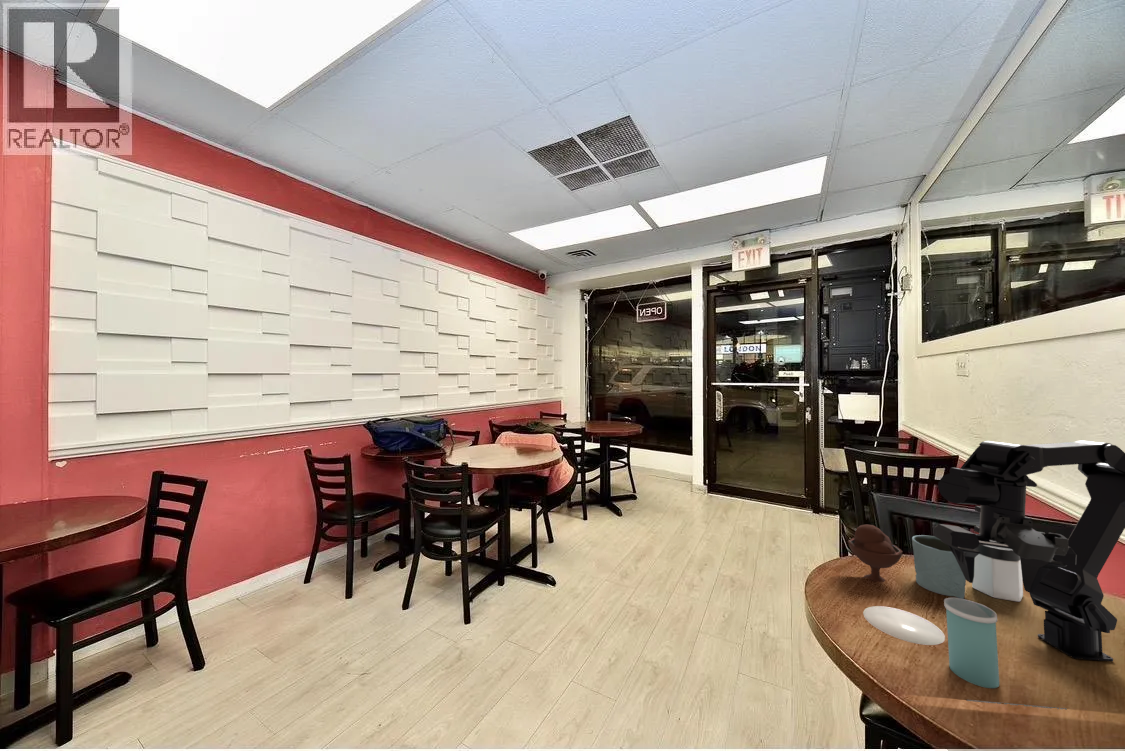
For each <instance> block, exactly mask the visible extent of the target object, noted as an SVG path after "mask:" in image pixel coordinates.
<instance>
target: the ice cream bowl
mask: <svg viewBox="0 0 1125 751" xmlns="http://www.w3.org/2000/svg"><path fill="white" fill-rule="evenodd" d="M847 542H848V546H849V548H850V550H851V552H852V553H853V554H854V555H855V556H856V557H857V558H858V559H859V560H860V561H861V562H862V563H863V564H865V565H867V566H869V567H870V569H871V570H870V573H871V574H870V573H869V574H868V573H867V574H865V575H864V576H862V578H865V579H869V580H871V581H873V582H876V583H877V582H878V583H885V582H886V579H885V578H884V577H883V576H881V573H880V570H881V569H887V568H891V567H892V566H895V565H896V564H897V563H898V562H899V561H900V560H901V558H902V556H903V550H902V549H901V548H899V547H898V546H897V545H895V544H893V543H892V541H891V539H890V537H889V535H887V534H886V533H884V532H883V531H882V530H881V529H880V528H879V527H877V526H875V525H874V524H861V525H859V526H857V527H856V529H855V531H854V536H853V537H851V538H850V539H849V540H847Z"/></svg>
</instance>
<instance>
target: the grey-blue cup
mask: <svg viewBox="0 0 1125 751" xmlns="http://www.w3.org/2000/svg"><path fill="white" fill-rule="evenodd" d="M911 541H912V542H911V543H912V549H913V565H914V570H915V573H916V575H915V582H916V584H917V585H918V586H920V587H922V588H924V589H926V590H927V591H930V592H932V593H936V594H939V595H943V596H948V597H955V598H961V599H965V595H966V584H967V583H966V582H967V581H966V579H965V577H964V575H963V573H962V571H961V568H960V566H959V564H958V562H957V560H956V558H955V556H954V555H953V553H952V551H951V550H950V548H949V547H948V545H947V544H945V543H943V542H941V540H940V539H939V538H937V537H935V536H934V535H925V534H921V535H920V534H919V535H917V534H916V535H913V536H912V537H911Z"/></svg>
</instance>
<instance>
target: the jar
mask: <svg viewBox="0 0 1125 751" xmlns="http://www.w3.org/2000/svg"><path fill="white" fill-rule="evenodd" d="M989 541H991V540H989ZM993 542H996V541H993ZM974 550H976V551H978V552H980V553H979V554H978V555H977V556H976V557H975V562H974V579H973V583H971V587H972V589H974V590H976V591H979V592H981V593H983V594H985V595H987V596H989V597H991V598H995V599H1000V600H1004V601H1005V600H1006V601H1012V602H1017V603H1018V602H1019V603H1020V602H1021V601H1022V599H1023V597H1024V585H1023V580H1022V570H1021V561H1020V556H1018V555H1016V554H1015V553H1014V551H1013V550H1012V549H1009V548H1002V547H995V546H988V545H981V544H979V546H978V547H977V548H975V549H974Z"/></svg>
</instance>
